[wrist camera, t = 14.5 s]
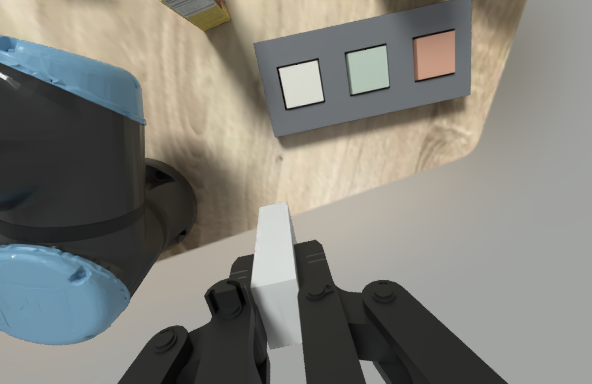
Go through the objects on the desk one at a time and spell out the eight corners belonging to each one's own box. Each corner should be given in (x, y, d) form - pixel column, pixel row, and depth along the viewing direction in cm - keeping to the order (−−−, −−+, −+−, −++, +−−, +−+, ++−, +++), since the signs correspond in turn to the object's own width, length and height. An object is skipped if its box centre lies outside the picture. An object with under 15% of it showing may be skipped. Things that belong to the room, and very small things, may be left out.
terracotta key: (407, 80, 42) (418, 79, 38) (405, 42, 40) (416, 38, 37) (441, 73, 41) (455, 72, 38) (440, 34, 40) (454, 30, 37)
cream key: (286, 106, 42) (287, 108, 38) (278, 70, 40) (279, 68, 37) (320, 99, 42) (323, 100, 38) (313, 62, 40) (317, 60, 37)
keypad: (274, 134, 43) (274, 137, 40) (254, 46, 39) (253, 43, 36) (457, 94, 43) (470, 94, 40) (457, 2, 39) (471, -5, 36)
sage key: (347, 93, 42) (352, 94, 38) (342, 56, 40) (347, 53, 37) (380, 86, 42) (389, 86, 38) (377, 48, 40) (386, 45, 37)
